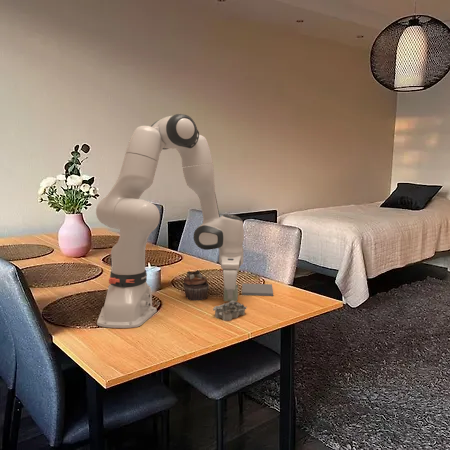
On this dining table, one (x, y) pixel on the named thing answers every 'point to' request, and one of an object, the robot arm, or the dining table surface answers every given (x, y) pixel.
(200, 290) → the cupcake
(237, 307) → the egg carton
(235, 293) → the cube
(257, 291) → the slate plate
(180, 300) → the dining table surface
